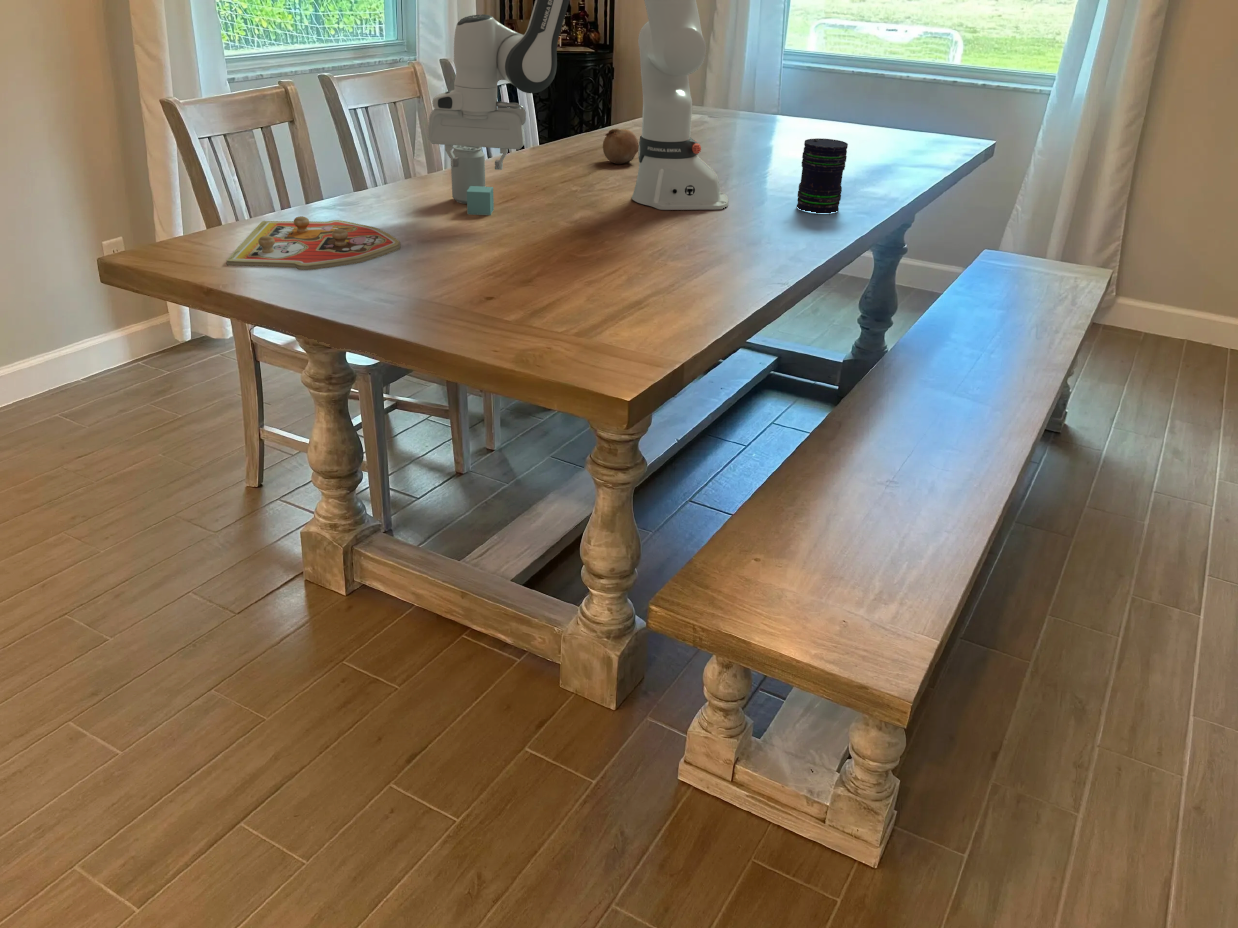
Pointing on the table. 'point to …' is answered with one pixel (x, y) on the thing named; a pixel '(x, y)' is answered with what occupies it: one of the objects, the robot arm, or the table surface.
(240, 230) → the table surface
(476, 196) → the teal block
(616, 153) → the onion
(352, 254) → the knob puzzle
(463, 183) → the can
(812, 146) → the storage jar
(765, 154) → the table surface
